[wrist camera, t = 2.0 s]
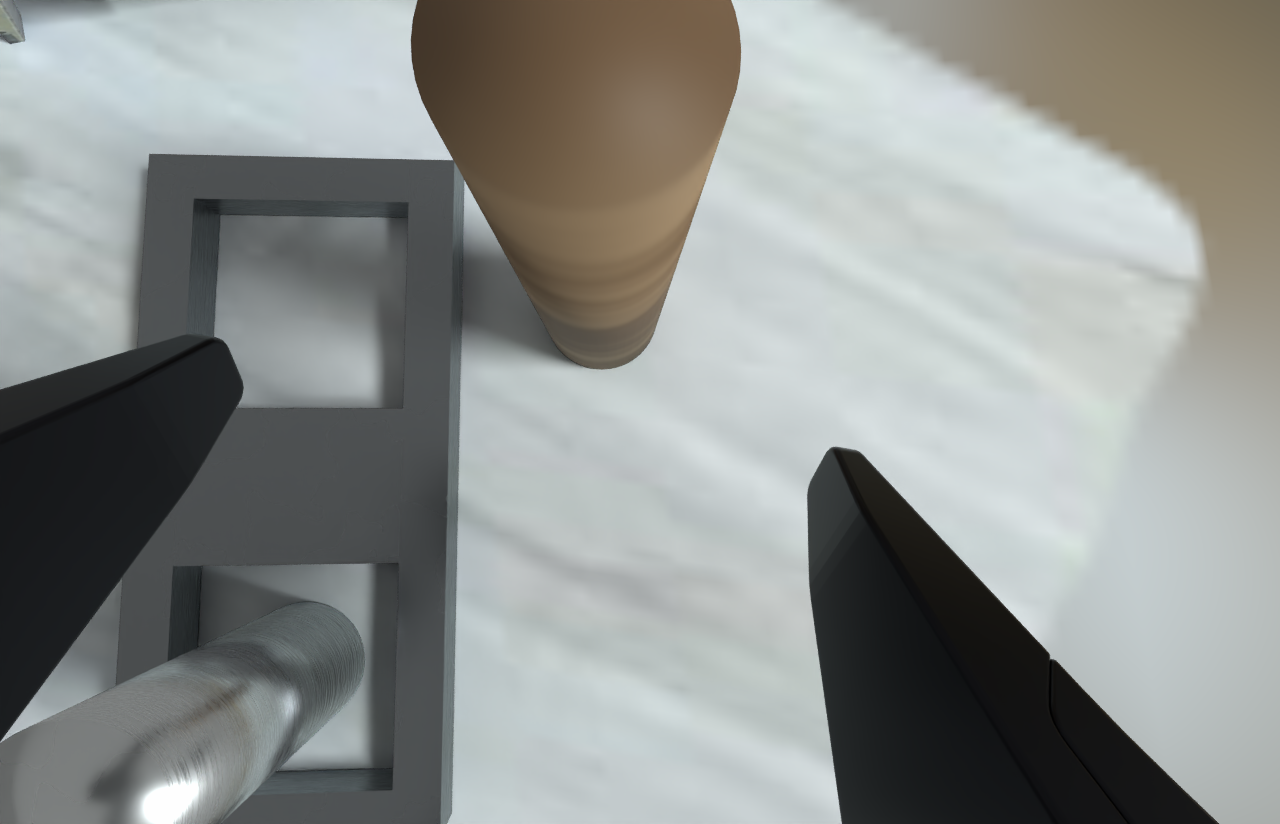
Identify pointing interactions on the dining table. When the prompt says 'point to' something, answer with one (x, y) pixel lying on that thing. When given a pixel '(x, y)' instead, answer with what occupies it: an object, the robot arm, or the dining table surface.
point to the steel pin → (187, 727)
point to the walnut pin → (583, 145)
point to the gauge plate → (319, 464)
